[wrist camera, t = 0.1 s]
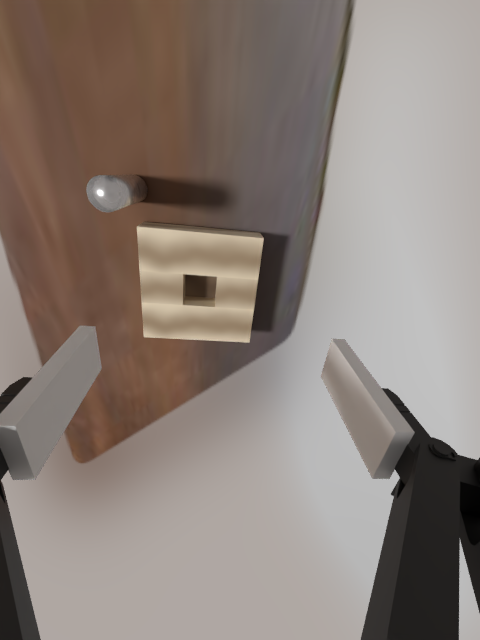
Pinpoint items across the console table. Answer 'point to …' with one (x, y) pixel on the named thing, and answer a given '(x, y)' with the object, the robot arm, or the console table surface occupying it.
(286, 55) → the console table surface
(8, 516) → the robot arm
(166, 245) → the bore block
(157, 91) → the console table surface
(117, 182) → the pin
